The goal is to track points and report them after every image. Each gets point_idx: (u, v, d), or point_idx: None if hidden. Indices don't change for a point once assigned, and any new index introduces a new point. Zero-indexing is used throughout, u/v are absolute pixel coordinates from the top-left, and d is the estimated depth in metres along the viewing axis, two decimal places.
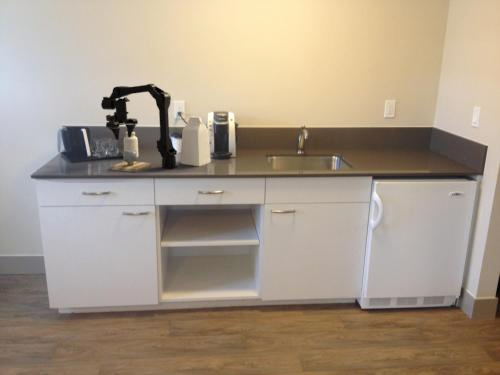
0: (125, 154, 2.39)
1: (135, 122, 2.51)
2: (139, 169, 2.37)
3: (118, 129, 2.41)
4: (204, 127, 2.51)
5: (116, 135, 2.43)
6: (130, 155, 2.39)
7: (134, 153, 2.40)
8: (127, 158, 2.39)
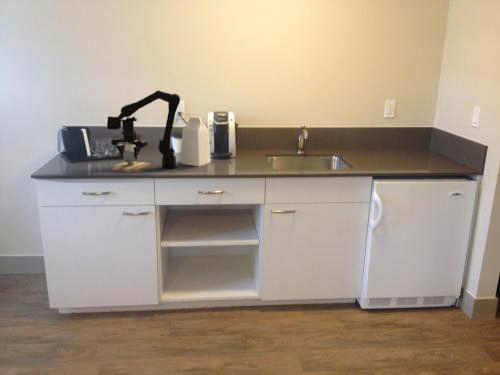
0: (125, 154, 2.39)
1: (137, 145, 2.35)
2: (139, 169, 2.37)
3: (118, 147, 2.40)
4: (204, 127, 2.51)
5: None
6: (130, 155, 2.39)
7: None
8: (127, 158, 2.39)
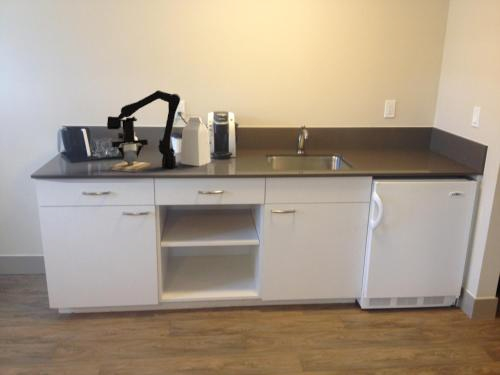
0: (130, 154, 2.39)
1: (143, 143, 2.41)
2: (139, 169, 2.37)
3: (121, 148, 2.36)
4: (204, 127, 2.51)
5: (121, 154, 2.39)
6: (135, 154, 2.40)
7: (136, 152, 2.42)
8: (132, 158, 2.40)
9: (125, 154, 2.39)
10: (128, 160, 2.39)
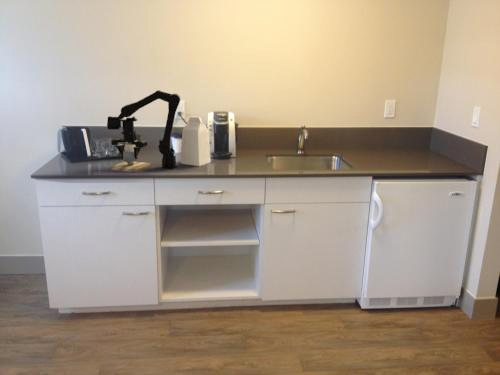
0: (130, 154, 2.39)
1: (137, 145, 2.35)
2: (139, 169, 2.37)
3: (118, 147, 2.40)
4: (204, 127, 2.51)
5: None
6: None
7: None
8: (132, 158, 2.40)
9: (125, 154, 2.39)
10: (128, 160, 2.39)
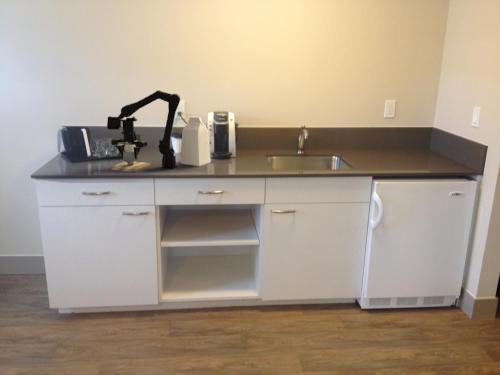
0: None
1: (137, 145, 2.35)
2: (139, 169, 2.37)
3: (118, 147, 2.40)
4: (204, 127, 2.51)
5: None
6: None
7: None
8: None
9: (130, 154, 2.39)
10: (133, 160, 2.40)
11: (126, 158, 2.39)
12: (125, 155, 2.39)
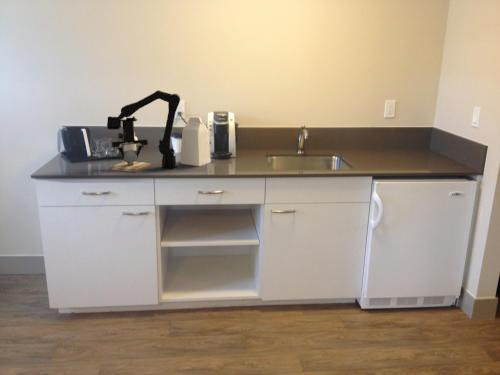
0: (136, 152, 2.43)
1: (143, 143, 2.41)
2: (139, 169, 2.37)
3: (120, 149, 2.36)
4: (204, 127, 2.51)
5: (121, 154, 2.39)
6: None
7: None
8: None
9: (134, 153, 2.40)
10: (136, 159, 2.43)
11: (131, 158, 2.39)
12: (130, 155, 2.39)
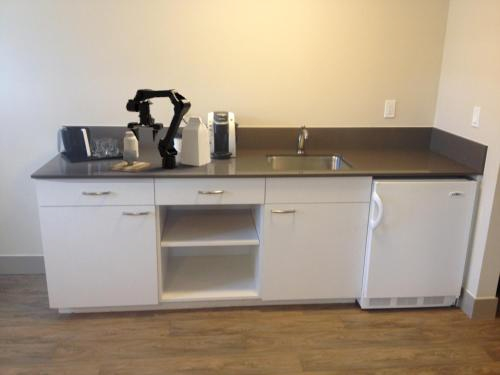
0: (136, 152, 2.43)
1: (155, 127, 2.42)
2: (139, 169, 2.37)
3: (133, 130, 2.45)
4: (204, 127, 2.51)
5: None
6: None
7: None
8: None
9: (134, 153, 2.40)
10: (136, 159, 2.43)
11: (131, 158, 2.39)
12: (130, 155, 2.39)
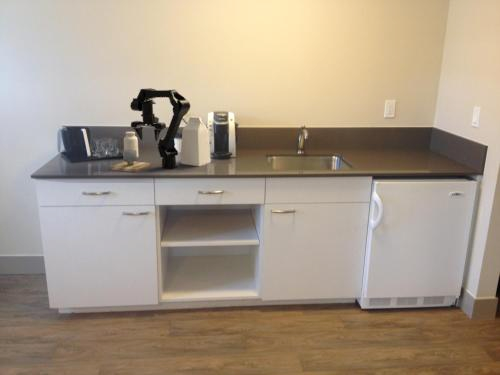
0: (136, 152, 2.43)
1: (157, 127, 2.43)
2: (139, 169, 2.37)
3: (136, 129, 2.47)
4: (204, 127, 2.51)
5: None
6: None
7: None
8: None
9: (134, 153, 2.40)
10: (136, 159, 2.43)
11: (131, 158, 2.39)
12: (130, 155, 2.39)
